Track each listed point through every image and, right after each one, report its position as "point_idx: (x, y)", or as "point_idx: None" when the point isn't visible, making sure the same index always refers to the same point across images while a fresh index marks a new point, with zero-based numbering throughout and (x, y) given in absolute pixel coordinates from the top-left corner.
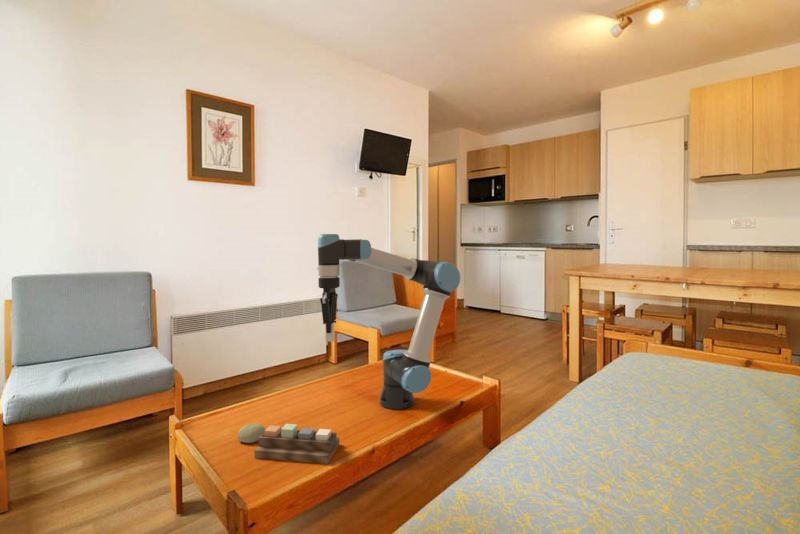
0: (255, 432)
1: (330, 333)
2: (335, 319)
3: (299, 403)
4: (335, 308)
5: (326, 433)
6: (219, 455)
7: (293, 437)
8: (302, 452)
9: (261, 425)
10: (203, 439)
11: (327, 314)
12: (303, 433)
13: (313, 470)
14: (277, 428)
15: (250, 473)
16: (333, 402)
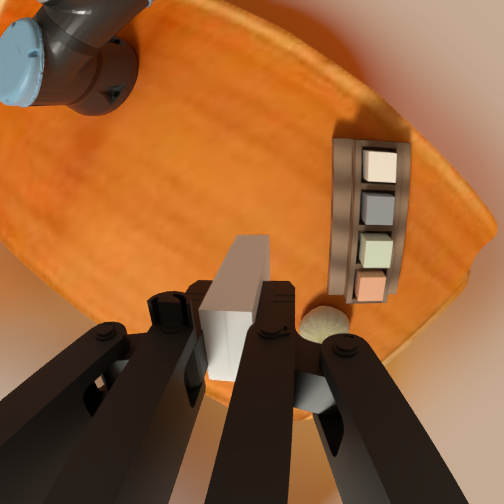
0: (340, 321)
1: (264, 281)
2: (114, 323)
3: None
4: (24, 424)
5: (388, 157)
6: (382, 342)
7: (383, 234)
8: (403, 200)
9: (315, 323)
10: None
11: (419, 453)
12: (393, 212)
13: (427, 165)
14: (372, 279)
15: (435, 270)
16: (131, 223)
